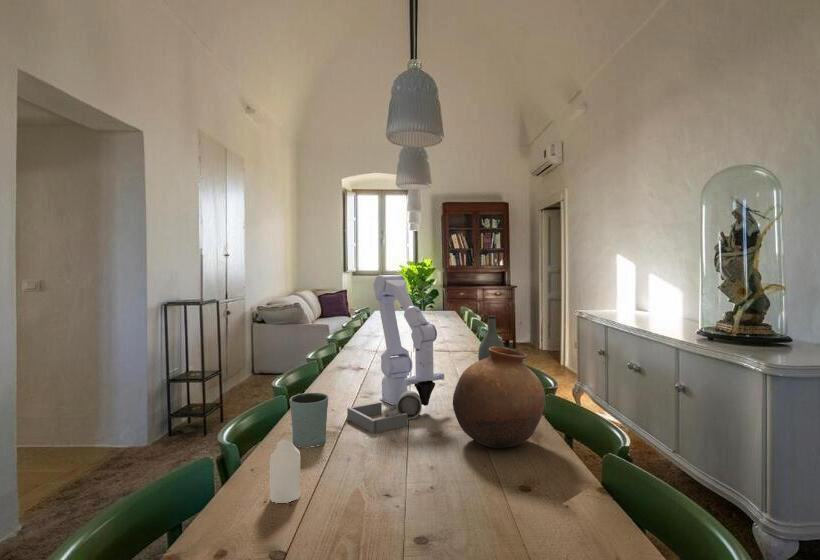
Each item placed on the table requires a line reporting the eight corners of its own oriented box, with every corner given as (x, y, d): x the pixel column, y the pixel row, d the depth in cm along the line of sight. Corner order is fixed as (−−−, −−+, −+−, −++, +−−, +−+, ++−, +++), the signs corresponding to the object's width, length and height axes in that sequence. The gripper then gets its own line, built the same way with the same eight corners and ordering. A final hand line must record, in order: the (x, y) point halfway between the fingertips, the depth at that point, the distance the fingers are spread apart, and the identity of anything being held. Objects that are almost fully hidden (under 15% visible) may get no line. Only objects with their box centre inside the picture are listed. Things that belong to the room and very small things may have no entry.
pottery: (440, 436, 131) (439, 345, 131) (511, 425, 140) (510, 339, 140) (485, 467, 110) (484, 358, 110) (565, 451, 119) (564, 351, 119)
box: (347, 419, 147) (347, 407, 147) (380, 412, 154) (379, 401, 154) (373, 433, 134) (373, 421, 134) (407, 425, 141) (407, 413, 140)
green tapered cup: (315, 433, 135) (314, 390, 135) (336, 442, 128) (336, 397, 128) (283, 442, 128) (282, 397, 128) (303, 452, 121) (302, 404, 121)
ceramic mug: (421, 411, 154) (420, 387, 154) (422, 419, 146) (421, 394, 146) (388, 412, 154) (387, 388, 154) (387, 420, 146) (386, 395, 146)
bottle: (494, 411, 154) (493, 317, 153) (472, 405, 161) (471, 315, 160) (512, 405, 160) (511, 315, 160) (490, 400, 167) (490, 313, 166)
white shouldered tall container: (297, 432, 100) (302, 440, 95) (298, 489, 101) (303, 500, 95) (267, 436, 98) (271, 445, 93) (268, 494, 98) (272, 507, 93)
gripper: (412, 367, 146) (413, 411, 146) (450, 361, 154) (450, 403, 154) (400, 363, 152) (400, 406, 152) (436, 358, 160) (437, 399, 160)
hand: (424, 404), depth 154 cm, fingers closed
